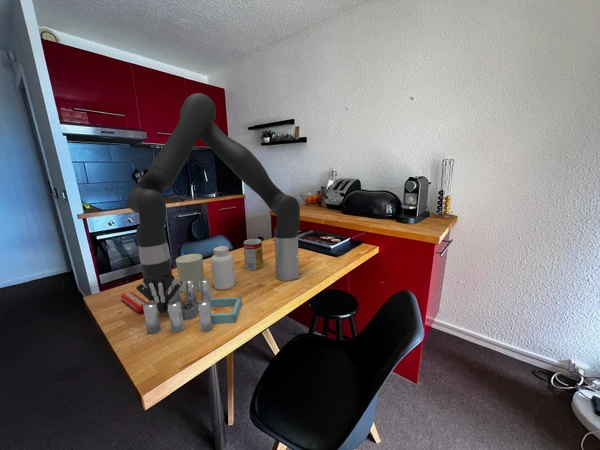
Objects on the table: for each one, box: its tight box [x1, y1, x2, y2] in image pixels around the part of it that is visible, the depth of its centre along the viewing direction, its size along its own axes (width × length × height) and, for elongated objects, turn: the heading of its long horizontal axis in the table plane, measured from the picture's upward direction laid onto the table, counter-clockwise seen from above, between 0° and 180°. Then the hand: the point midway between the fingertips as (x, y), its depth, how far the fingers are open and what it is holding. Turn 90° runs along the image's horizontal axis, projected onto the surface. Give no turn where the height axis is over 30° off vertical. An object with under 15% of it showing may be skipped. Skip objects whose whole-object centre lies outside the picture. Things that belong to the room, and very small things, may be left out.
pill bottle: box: [210, 245, 236, 290], centre depth 93 cm, size 8×8×15 cm
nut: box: [181, 301, 199, 321], centre depth 76 cm, size 5×6×3 cm
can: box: [175, 253, 206, 293], centre depth 93 cm, size 9×9×12 cm
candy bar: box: [120, 291, 148, 313], centre depth 82 cm, size 16×4×3 cm, turn 54°
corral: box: [209, 296, 242, 324], centre depth 77 cm, size 10×10×2 cm
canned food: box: [243, 238, 264, 271], centre depth 111 cm, size 8×8×12 cm
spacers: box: [143, 277, 214, 335], centre depth 76 cm, size 18×17×8 cm
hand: (164, 311), depth 76 cm, fingers closed
